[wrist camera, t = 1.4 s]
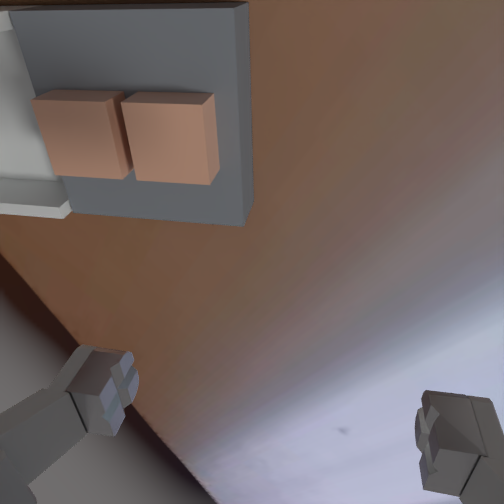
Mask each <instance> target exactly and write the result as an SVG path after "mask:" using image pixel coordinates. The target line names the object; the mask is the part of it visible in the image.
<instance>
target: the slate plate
mask: <svg viewBox="0 0 504 504" xmlns="http://www.w3.org/2000/svg"><path fill="white" fill-rule="evenodd" d="M9 14H10V17H11V20H12V23H13V26H14V29H15V33H16V36H17V39H18V42H19V45H20V48H21V51H22V54H23V57H24V61H25V64H26V67H27V70H28V73H29V76H30V79H31V82H32V86H33V89H34V92H35V95H36V97H37V96H40V95H42V94H44V93H47V92H49V91H51V90H54V89H57V90H98V91H124V95H125V99H127V98H129V97H130V96H132V95H133V94H135V93H137V92H138V91H140V92H181V93H214V100H215V113H216V126H217V139H218V152H219V165H220V170H219V171H218V173H217V174H216V176H215V178H214V179H213V181H212V182H211V184H210V185H201V184H185V183H170V182H154V181H139V180H137V179H136V174H135V170H134V169H133V170H132V171H131V172H130V173H129V174H128V175H127V176H126V177H125V178H124V179H107V178H92V177H76V176H62V179H63V182H64V185H65V188H66V192H67V195H68V198H69V201H70V204H71V207H72V210H73V213H82V214H95V215H107V216H119V217H132V218H144V219H156V220H169V221H181V222H193V223H205V224H218V225H230V226H242V227H244V225H245V222H246V220H247V217H248V215H249V212H250V210H251V207H252V205H253V202H254V190H253V152H252V114H251V77H250V39H249V2H223V3H158V4H94V5H46V6H39V7H32V8H26V9H19V10H12V11H9Z"/></svg>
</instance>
